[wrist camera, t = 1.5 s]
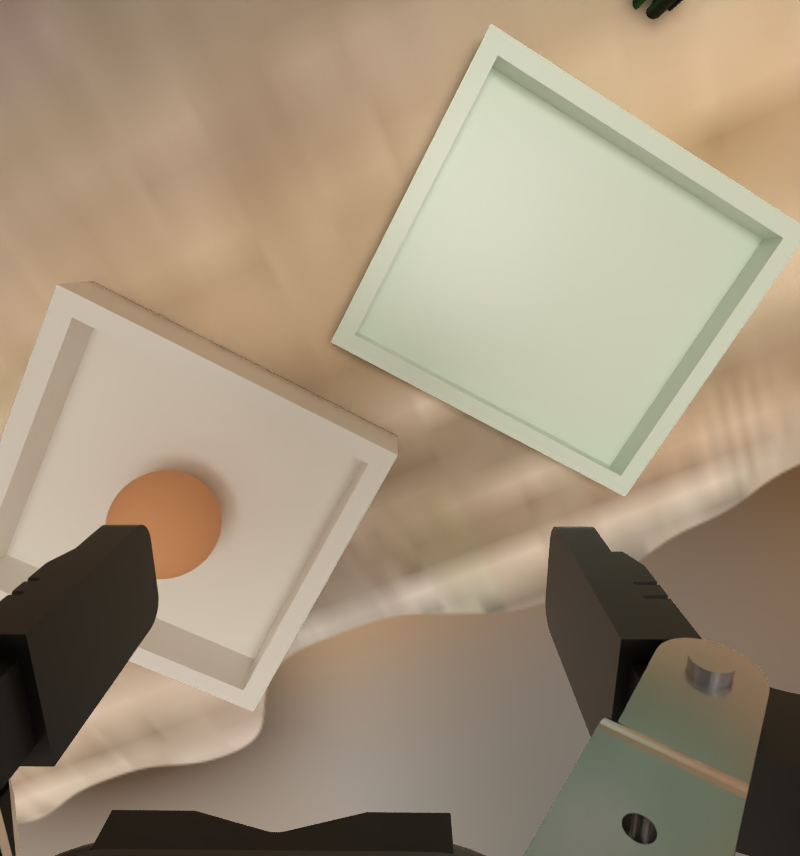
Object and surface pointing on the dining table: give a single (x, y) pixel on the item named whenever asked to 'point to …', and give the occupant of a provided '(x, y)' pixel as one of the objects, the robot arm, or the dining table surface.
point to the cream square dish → (195, 455)
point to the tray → (563, 268)
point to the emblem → (657, 6)
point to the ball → (171, 518)
